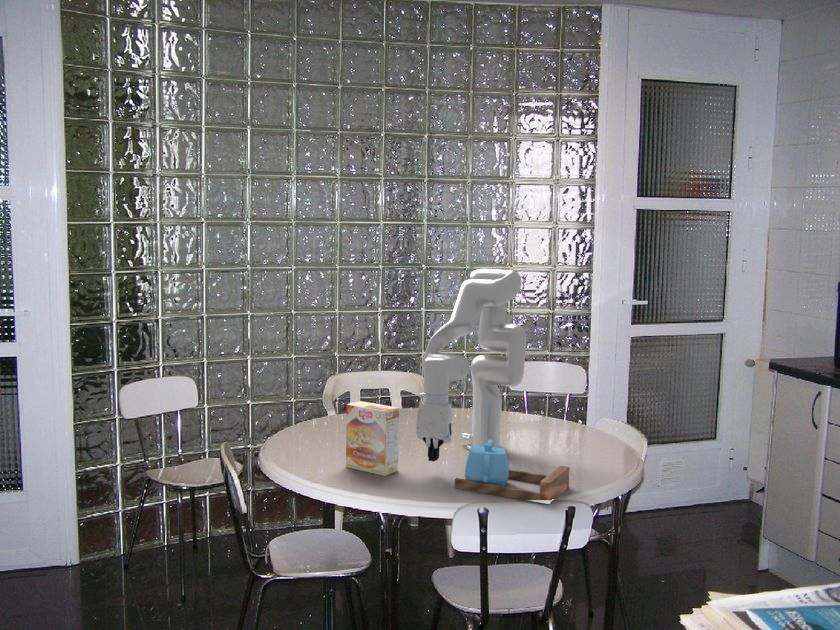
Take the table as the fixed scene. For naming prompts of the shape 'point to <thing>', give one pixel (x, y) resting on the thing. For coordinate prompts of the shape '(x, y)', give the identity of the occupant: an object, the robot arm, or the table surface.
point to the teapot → (487, 465)
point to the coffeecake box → (372, 437)
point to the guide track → (549, 483)
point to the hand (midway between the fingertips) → (433, 460)
